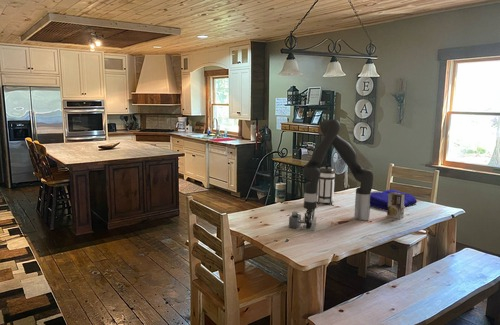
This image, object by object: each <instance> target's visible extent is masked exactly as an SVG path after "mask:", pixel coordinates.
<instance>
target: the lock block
mask: <svg viewBox="0 0 500 325" xmlns="http://www.w3.org/2000/svg"><path fill="white" fill-rule="evenodd" d="M309 218H310V217H309ZM302 220H303V221H305V215H304V216H303V217H302ZM307 221H308V219H307ZM310 222H312V224H310V229H306V224H304V223H303V224H302V230H303V231H310V232H315V230H317V216H315V215H314V216H313V217H312V219H311V220H310Z"/></svg>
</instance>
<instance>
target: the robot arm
mask: <svg viewBox="0 0 500 325" xmlns="http://www.w3.org/2000/svg"><path fill="white" fill-rule="evenodd" d="M319 129H320V133H321V134H322V135H323V136H324V137H323V139H322V141H320V143H319V144H318V145H317V146H316V148H314V150H313V153H312V155H311V158H310V159H309V160H308V162H307V163H306V164H305V166H304V167H303V169H302V176H303V178H306V179H308V180H309V179H310V182H309V181H308V182H305V185H304V195H303V208H304V209H306V210H305V213H304V216H305V222H306V229H310V224H312V222H311V223H310V220H311V219H312V217H313V216H314V217H315V213H316V211H315V209H317V205H318V204H317V202H318V200H317V194H318V181H319V178H320V170H319V168H318V167H319V166H321V165H323V164H322V163H323V161H324V159H325V158H326V155H327V153H328V151H329V149H330V147H331V145H332V147H333V148H334V149H335V151H336V152H337V154H338V155H339V157H340V158H341V160H343V161H344V163H345V165H346V166H347V167H348V168H349V170H350V172H351V174H352V176H353V178H354V179H355V180H356V181H357V182H359V183H360V186H359V187H356V188H355V199H354V201H355V203H354V215H353V216H354V219H356V220H358V221H369V220H370V212H371V210H370V209H371V206H370V193H372V189H373V185H374V184H373V183H374V172H373V171H372V170H370V169H367V168H364V167H362V166H361V164H360V163H359V161H358V157H357V156H358V155H357V153H356V150H355V148H353V146H352V145H351V144H350V143H349V142H348V141H347V140H345V139H344V138H343V137H341V136H339V135H338V134H339V132H340V130H341V123H340V121H339V120H337V119H334V118H333V119H332V118H331V119H327V120H323V121H321V123H320V124H319ZM309 217H310V218H309ZM307 219H308V221H307Z"/></svg>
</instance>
